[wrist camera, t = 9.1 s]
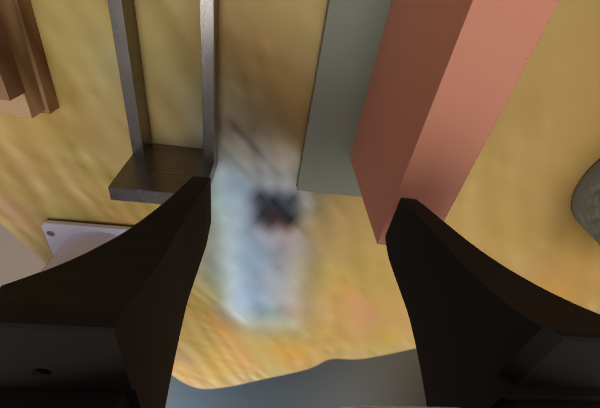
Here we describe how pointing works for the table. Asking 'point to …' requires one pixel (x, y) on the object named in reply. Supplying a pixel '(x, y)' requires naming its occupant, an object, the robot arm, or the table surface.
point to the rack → (146, 156)
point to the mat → (340, 94)
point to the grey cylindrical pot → (588, 201)
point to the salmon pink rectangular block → (438, 97)
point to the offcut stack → (23, 63)
